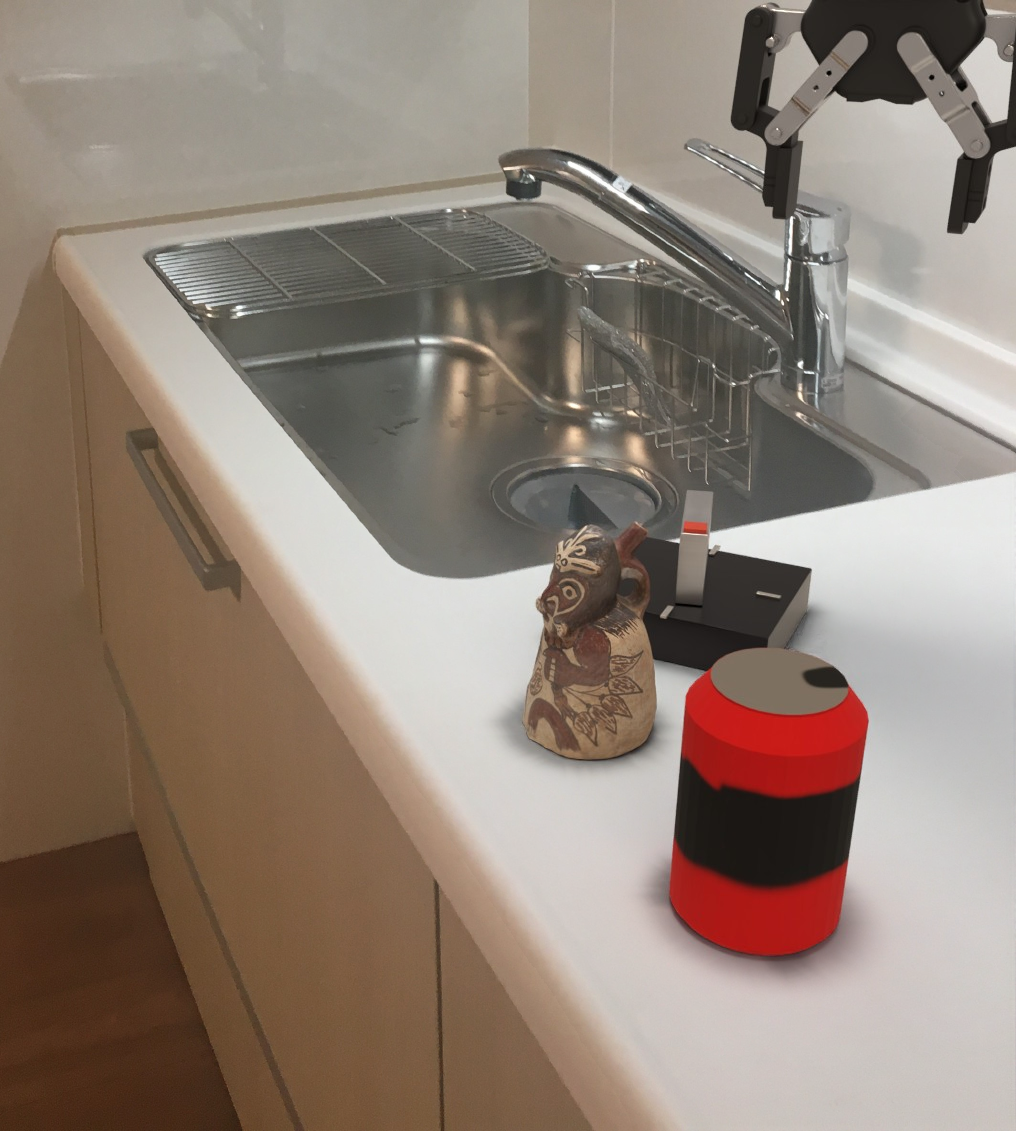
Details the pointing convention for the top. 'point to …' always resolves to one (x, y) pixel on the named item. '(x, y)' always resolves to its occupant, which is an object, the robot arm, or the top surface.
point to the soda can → (766, 800)
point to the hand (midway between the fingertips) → (867, 223)
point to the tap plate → (719, 604)
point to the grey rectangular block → (694, 547)
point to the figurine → (593, 650)
